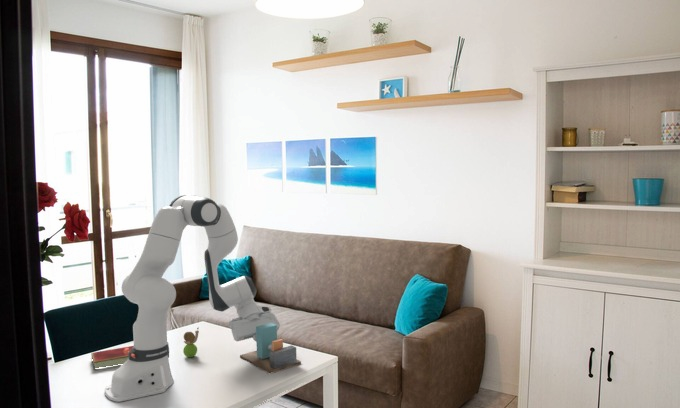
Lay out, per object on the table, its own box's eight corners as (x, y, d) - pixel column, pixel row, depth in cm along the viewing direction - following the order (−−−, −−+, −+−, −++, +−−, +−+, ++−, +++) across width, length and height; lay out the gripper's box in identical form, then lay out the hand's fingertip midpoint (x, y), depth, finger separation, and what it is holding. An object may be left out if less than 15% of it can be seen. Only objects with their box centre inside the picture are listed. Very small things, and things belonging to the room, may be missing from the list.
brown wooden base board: (269, 373, 195) (269, 370, 195) (240, 357, 212) (239, 354, 212) (300, 363, 204) (300, 360, 204) (269, 349, 221) (269, 346, 221)
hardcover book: (91, 362, 211) (91, 351, 211) (147, 352, 221) (146, 342, 221) (94, 372, 200) (93, 361, 200) (152, 361, 211) (151, 351, 210)
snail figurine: (197, 359, 211) (196, 329, 210) (181, 359, 211) (180, 329, 210) (201, 354, 216) (200, 325, 215) (186, 354, 216) (184, 325, 215)
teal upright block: (264, 360, 204) (263, 329, 203) (256, 356, 208) (256, 326, 207) (279, 355, 209) (278, 326, 208) (272, 352, 213) (271, 322, 212)
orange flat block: (274, 363, 201) (274, 342, 201) (272, 361, 203) (271, 341, 202) (293, 357, 207) (293, 337, 206) (291, 356, 208) (290, 336, 208)
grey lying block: (274, 369, 196) (274, 353, 196) (270, 367, 198) (269, 351, 198) (296, 362, 203) (296, 347, 202) (292, 360, 205) (291, 345, 204)
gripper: (229, 316, 209) (243, 346, 202) (273, 306, 222) (287, 334, 215) (224, 324, 213) (237, 354, 206) (268, 314, 226) (281, 342, 219)
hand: (263, 344), depth 211 cm, fingers closed, pressing on teal upright block
